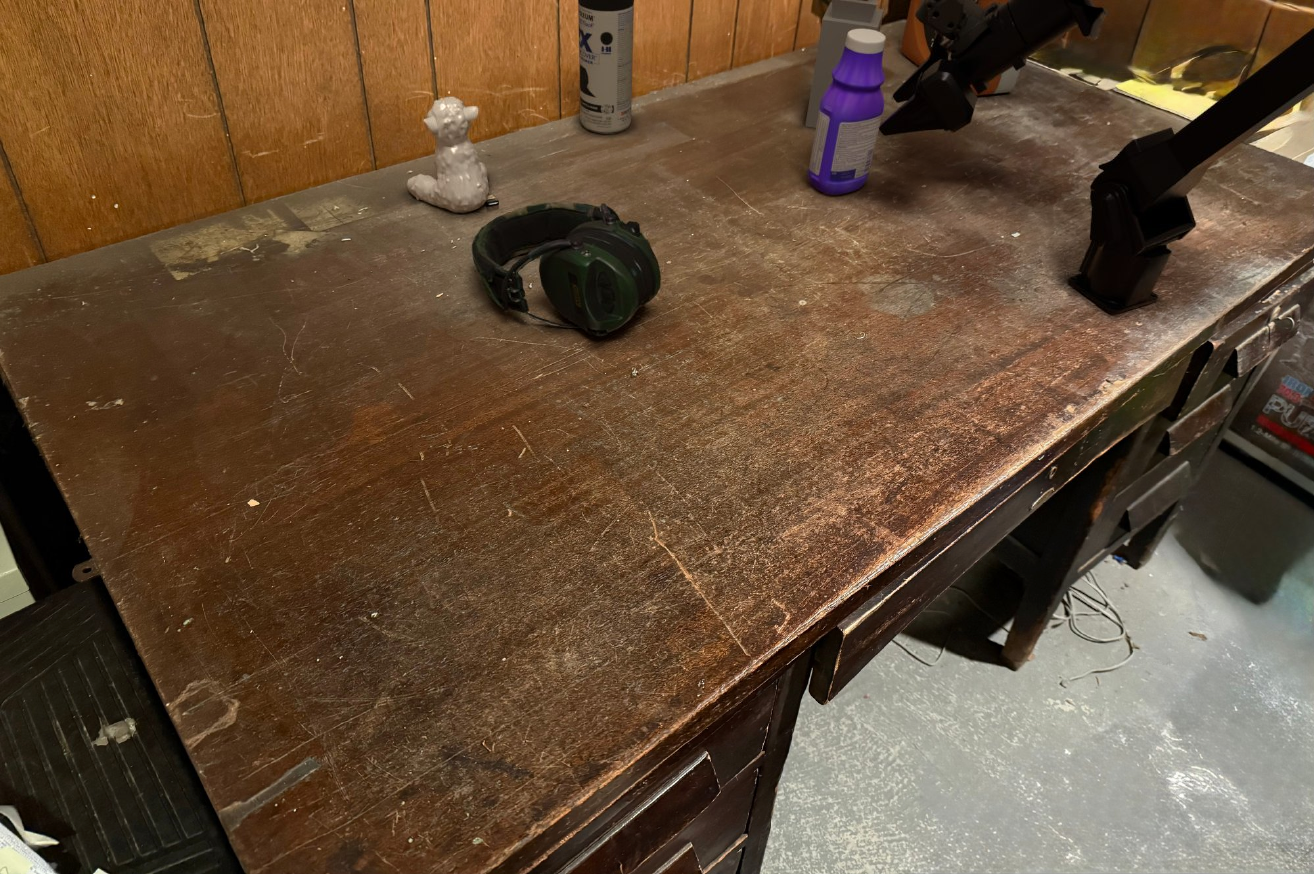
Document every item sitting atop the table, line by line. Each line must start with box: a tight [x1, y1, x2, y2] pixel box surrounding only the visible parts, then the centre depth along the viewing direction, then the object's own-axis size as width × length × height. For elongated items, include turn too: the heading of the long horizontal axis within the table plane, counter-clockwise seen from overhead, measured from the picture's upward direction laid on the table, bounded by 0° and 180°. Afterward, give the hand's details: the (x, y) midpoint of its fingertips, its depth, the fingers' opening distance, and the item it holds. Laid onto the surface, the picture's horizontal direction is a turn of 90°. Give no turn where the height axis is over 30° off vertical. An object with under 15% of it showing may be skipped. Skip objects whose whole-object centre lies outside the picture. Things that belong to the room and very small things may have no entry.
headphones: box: [471, 201, 662, 337], centre depth 85 cm, size 13×13×20 cm
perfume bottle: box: [804, 0, 885, 129], centre depth 113 cm, size 7×7×18 cm
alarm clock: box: [901, 0, 1022, 96], centre depth 125 cm, size 18×9×21 cm, turn 17°
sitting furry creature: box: [406, 96, 490, 214], centre depth 96 cm, size 10×9×12 cm
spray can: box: [577, 0, 635, 135], centre depth 109 cm, size 7×7×20 cm
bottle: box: [807, 29, 887, 196], centre depth 100 cm, size 7×6×17 cm
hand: (888, 114), depth 98 cm, fingers open, 9 cm apart
